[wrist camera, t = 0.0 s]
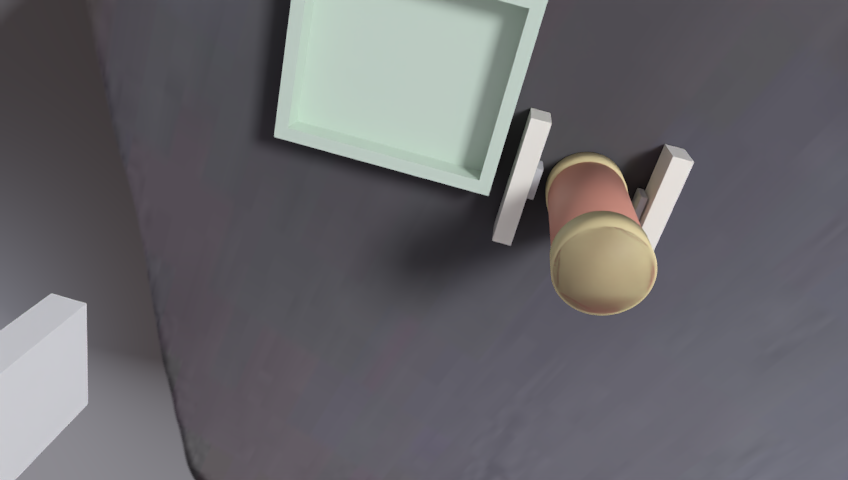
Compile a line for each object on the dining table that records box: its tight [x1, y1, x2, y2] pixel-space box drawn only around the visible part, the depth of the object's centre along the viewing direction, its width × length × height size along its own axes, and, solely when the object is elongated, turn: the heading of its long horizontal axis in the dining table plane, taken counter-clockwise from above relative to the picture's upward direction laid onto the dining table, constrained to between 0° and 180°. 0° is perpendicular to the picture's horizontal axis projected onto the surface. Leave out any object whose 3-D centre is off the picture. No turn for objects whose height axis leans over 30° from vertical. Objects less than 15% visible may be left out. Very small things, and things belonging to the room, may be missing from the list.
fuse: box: [545, 152, 657, 315], centre depth 34 cm, size 5×5×11 cm
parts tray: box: [274, 0, 548, 196], centre depth 36 cm, size 12×14×2 cm
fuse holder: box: [492, 108, 694, 251], centre depth 38 cm, size 8×9×2 cm
